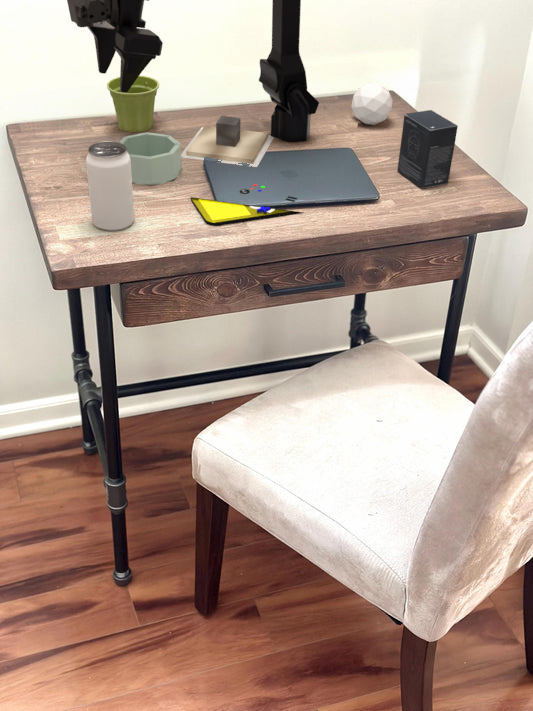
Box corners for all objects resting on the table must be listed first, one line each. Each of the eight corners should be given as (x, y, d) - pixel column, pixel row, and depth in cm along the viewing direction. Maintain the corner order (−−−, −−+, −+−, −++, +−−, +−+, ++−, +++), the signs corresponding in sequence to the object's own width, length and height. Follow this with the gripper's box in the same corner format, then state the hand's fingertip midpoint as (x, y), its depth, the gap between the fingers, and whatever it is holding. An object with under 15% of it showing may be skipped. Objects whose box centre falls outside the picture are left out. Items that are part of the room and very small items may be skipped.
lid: (268, 137, 160) (269, 112, 157) (252, 163, 150) (253, 137, 148) (205, 129, 162) (205, 104, 159) (186, 155, 152) (185, 129, 149)
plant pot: (152, 142, 158) (150, 95, 153) (103, 136, 160) (99, 90, 155) (167, 123, 166) (165, 78, 161) (120, 117, 167) (116, 73, 162)
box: (448, 184, 148) (459, 125, 142) (421, 190, 146) (430, 130, 140) (422, 166, 154) (431, 108, 148) (395, 171, 152) (403, 112, 146)
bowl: (186, 167, 150) (186, 137, 147) (168, 192, 142) (167, 161, 139) (132, 160, 152) (130, 130, 149) (111, 184, 144) (108, 153, 141)
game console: (209, 231, 134) (209, 222, 133) (187, 200, 142) (187, 191, 141) (315, 213, 139) (316, 205, 138) (288, 184, 147) (288, 176, 147)
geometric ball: (359, 137, 170) (337, 105, 166) (376, 111, 174) (355, 79, 170) (389, 129, 164) (367, 95, 160) (406, 102, 168) (385, 68, 164)
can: (93, 212, 136) (86, 139, 129) (135, 211, 137) (130, 139, 130) (90, 232, 131) (83, 158, 124) (133, 231, 132) (128, 158, 124)
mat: (274, 140, 161) (274, 135, 160) (256, 171, 150) (256, 167, 149) (201, 131, 163) (201, 126, 163) (179, 161, 152) (179, 156, 152)
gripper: (56, -43, 133) (45, 59, 141) (100, -12, 121) (85, 98, 129) (123, -32, 140) (109, 65, 147) (172, -1, 127) (153, 104, 135)
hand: (112, 82), depth 139 cm, fingers open, 9 cm apart
